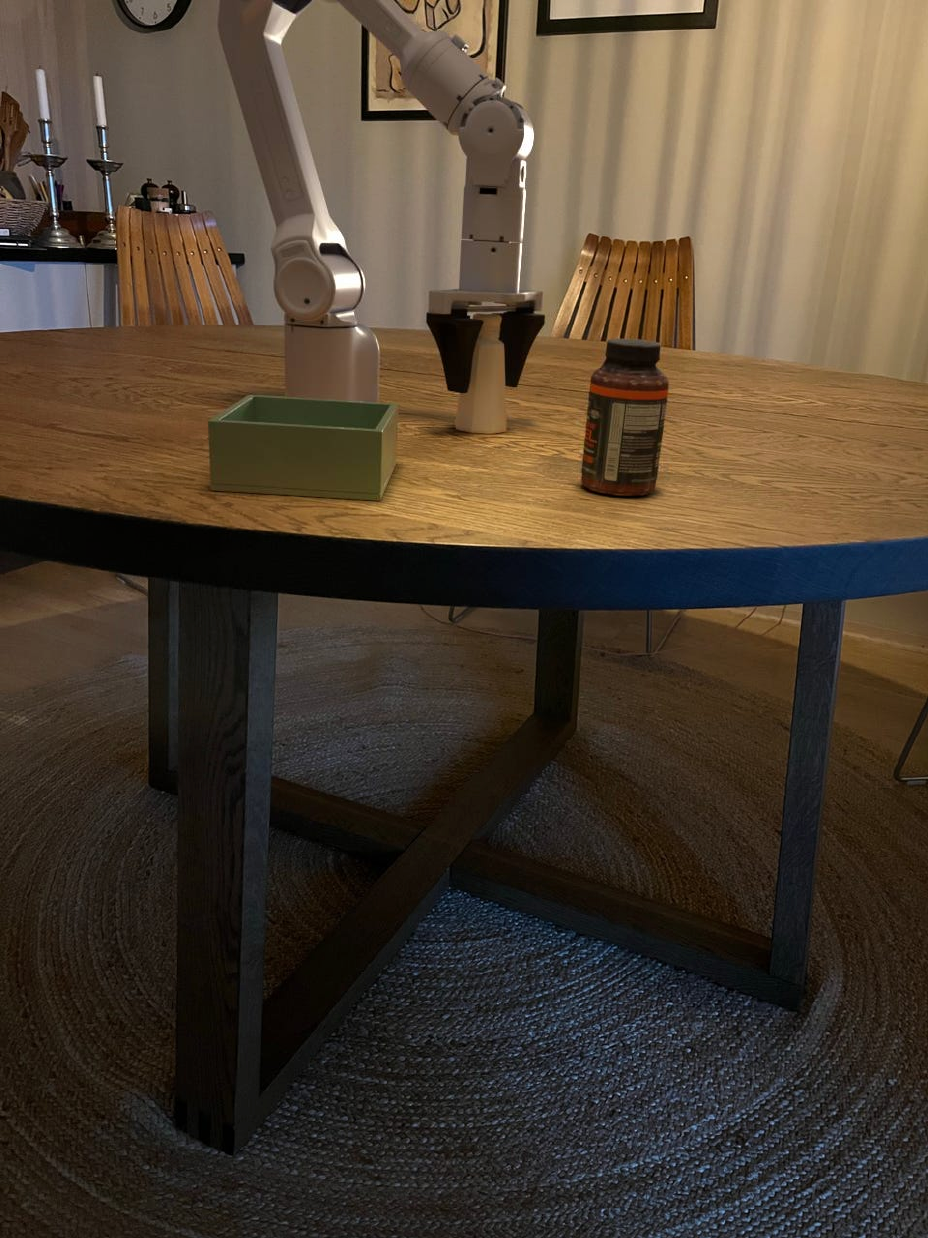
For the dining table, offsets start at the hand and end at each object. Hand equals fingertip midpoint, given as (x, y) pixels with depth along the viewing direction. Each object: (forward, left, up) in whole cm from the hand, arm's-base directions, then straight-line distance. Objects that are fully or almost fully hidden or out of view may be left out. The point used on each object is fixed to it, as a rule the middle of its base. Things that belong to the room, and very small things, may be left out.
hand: (483, 388), depth 98 cm
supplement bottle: (+10, +23, -4) cm, 25 cm away
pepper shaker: (0, 0, -4) cm, 4 cm away
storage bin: (+27, +6, -4) cm, 28 cm away
